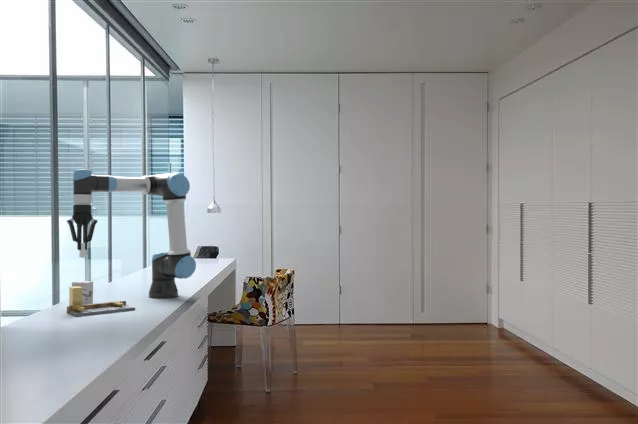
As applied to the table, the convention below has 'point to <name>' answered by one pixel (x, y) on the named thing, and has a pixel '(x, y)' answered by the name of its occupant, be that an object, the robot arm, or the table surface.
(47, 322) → the table surface
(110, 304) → the beam
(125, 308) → the gray rectangular panel
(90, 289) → the ink box
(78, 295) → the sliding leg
